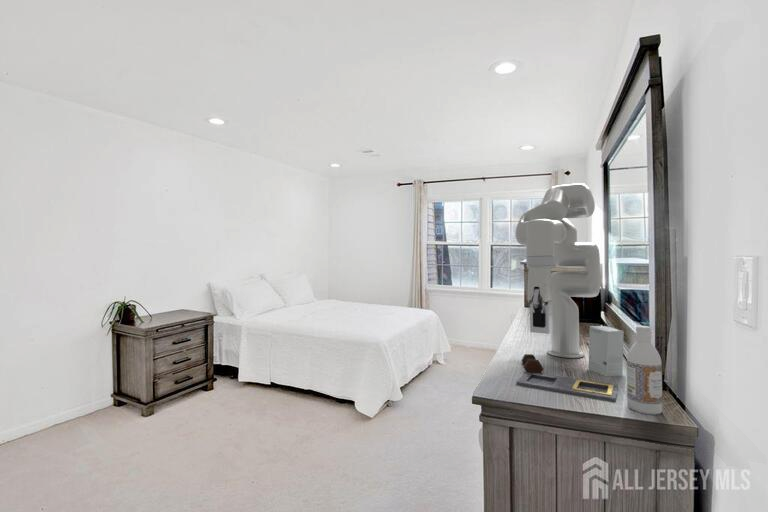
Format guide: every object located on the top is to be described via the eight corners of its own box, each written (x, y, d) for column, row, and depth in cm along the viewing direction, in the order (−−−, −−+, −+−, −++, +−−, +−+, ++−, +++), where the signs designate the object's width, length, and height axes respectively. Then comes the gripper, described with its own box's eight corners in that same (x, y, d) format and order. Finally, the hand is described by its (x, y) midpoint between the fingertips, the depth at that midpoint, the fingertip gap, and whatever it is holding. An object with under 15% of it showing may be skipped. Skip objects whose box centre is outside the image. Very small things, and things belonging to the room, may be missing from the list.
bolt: (530, 369, 134) (536, 381, 119) (516, 361, 135) (521, 372, 120) (538, 355, 133) (546, 365, 119) (525, 347, 134) (531, 356, 120)
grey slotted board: (527, 377, 119) (527, 370, 119) (618, 391, 105) (618, 384, 105) (516, 388, 109) (516, 381, 109) (615, 405, 95) (615, 397, 95)
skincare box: (587, 372, 123) (587, 325, 123) (604, 371, 124) (603, 325, 124) (607, 380, 115) (606, 330, 115) (625, 379, 116) (624, 329, 116)
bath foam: (645, 416, 88) (644, 329, 89) (620, 405, 95) (619, 324, 95) (669, 413, 90) (668, 328, 90) (643, 403, 97) (642, 323, 97)
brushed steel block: (534, 329, 114) (533, 301, 114) (552, 330, 112) (551, 302, 112) (530, 332, 110) (529, 303, 110) (548, 333, 108) (548, 304, 107)
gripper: (533, 261, 120) (534, 319, 120) (519, 263, 106) (520, 329, 106) (559, 261, 116) (560, 321, 116) (548, 263, 102) (549, 331, 102)
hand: (541, 324), depth 111 cm, fingers closed on brushed steel block, 5 cm apart
